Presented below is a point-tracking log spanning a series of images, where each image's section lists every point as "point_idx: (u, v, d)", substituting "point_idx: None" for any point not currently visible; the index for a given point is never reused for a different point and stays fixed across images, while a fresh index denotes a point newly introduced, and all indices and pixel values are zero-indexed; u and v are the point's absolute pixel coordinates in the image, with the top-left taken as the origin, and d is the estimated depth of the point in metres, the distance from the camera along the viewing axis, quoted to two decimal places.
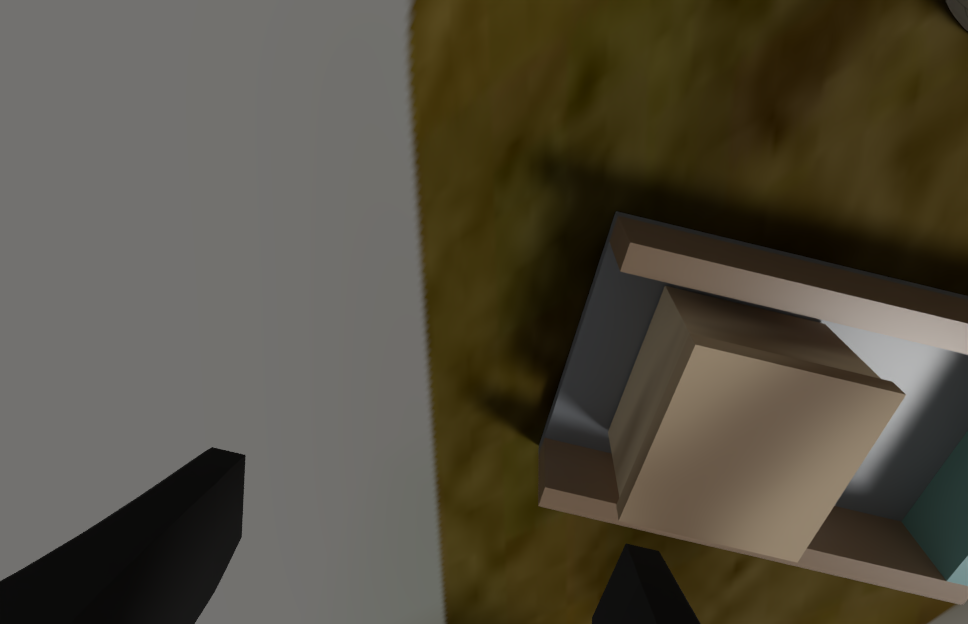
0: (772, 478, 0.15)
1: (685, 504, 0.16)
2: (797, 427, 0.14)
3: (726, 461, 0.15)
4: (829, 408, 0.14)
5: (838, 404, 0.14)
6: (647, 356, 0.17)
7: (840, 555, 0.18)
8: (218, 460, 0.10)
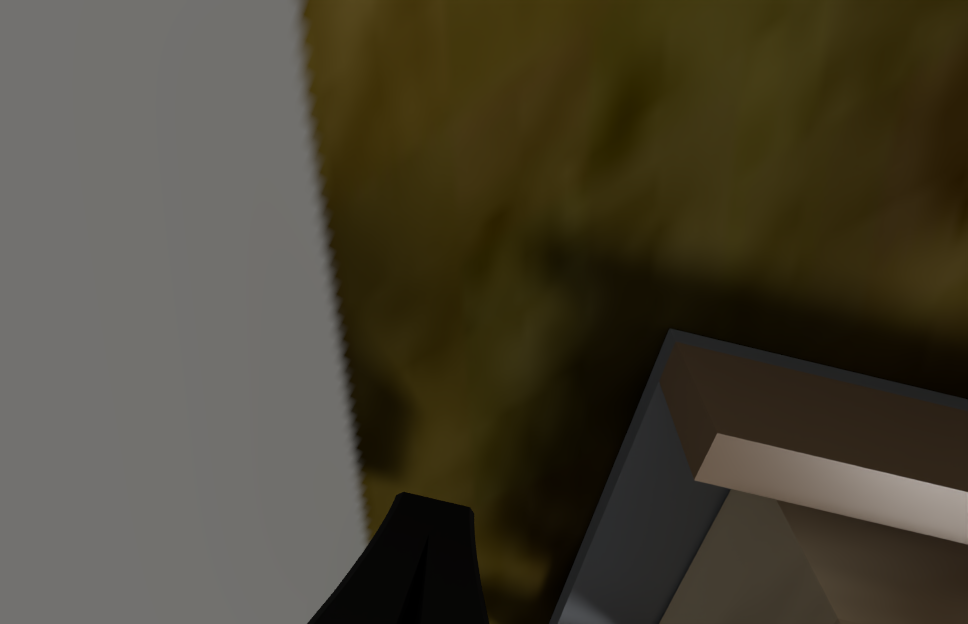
0: None
1: None
2: None
3: None
4: None
5: None
6: (722, 570, 0.10)
7: None
8: (417, 507, 0.10)
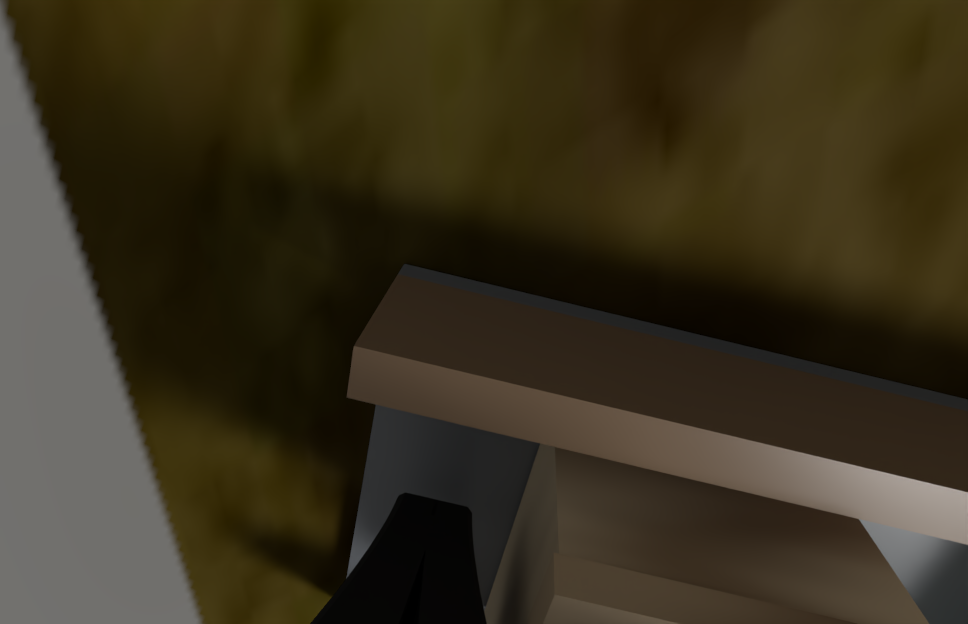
0: None
1: None
2: None
3: None
4: None
5: None
6: (524, 524, 0.10)
7: None
8: (420, 507, 0.10)
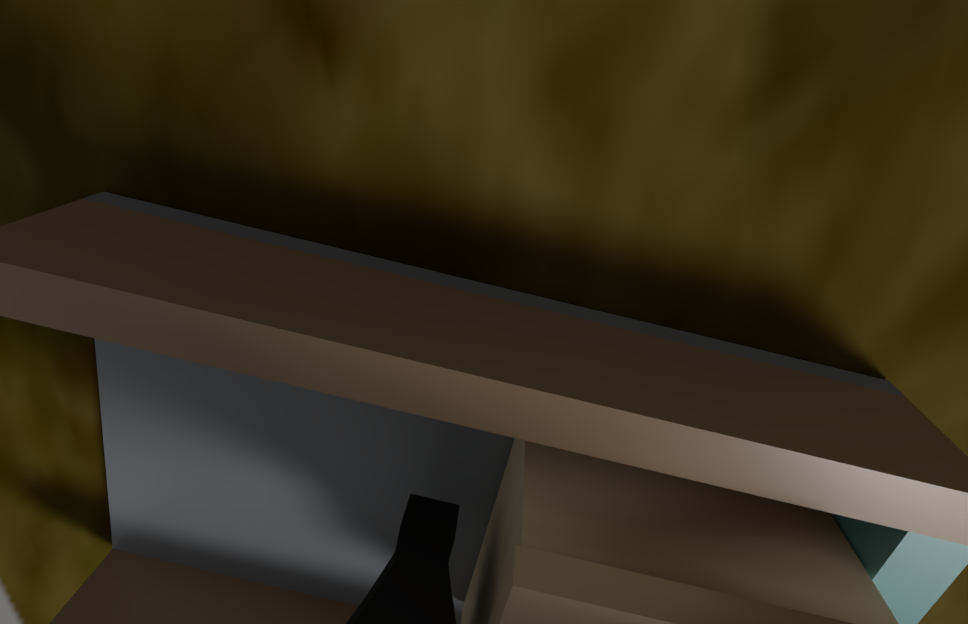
0: None
1: None
2: None
3: None
4: None
5: None
6: (497, 518, 0.10)
7: None
8: (441, 512, 0.10)
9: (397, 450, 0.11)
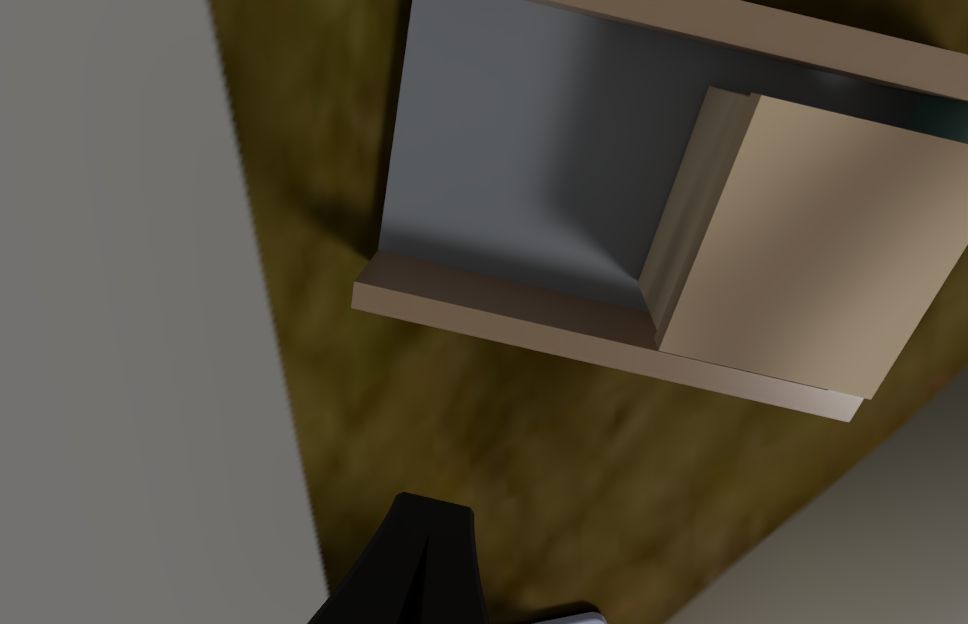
0: (847, 284, 0.12)
1: (739, 324, 0.13)
2: (881, 210, 0.12)
3: (792, 262, 0.12)
4: (924, 181, 0.11)
5: (935, 174, 0.11)
6: (688, 170, 0.15)
7: (703, 361, 0.15)
8: (418, 506, 0.10)
9: (611, 141, 0.16)
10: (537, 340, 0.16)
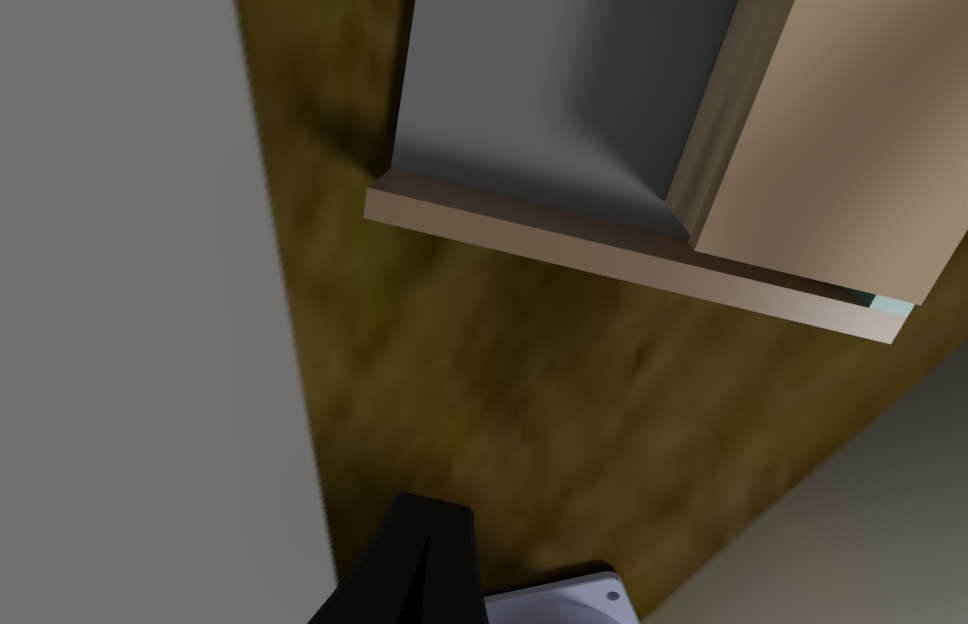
0: (900, 170, 0.12)
1: (782, 219, 0.12)
2: (941, 83, 0.11)
3: (841, 145, 0.12)
4: None
5: None
6: (723, 68, 0.14)
7: (736, 275, 0.15)
8: (417, 507, 0.10)
9: (640, 44, 0.15)
10: (561, 253, 0.15)
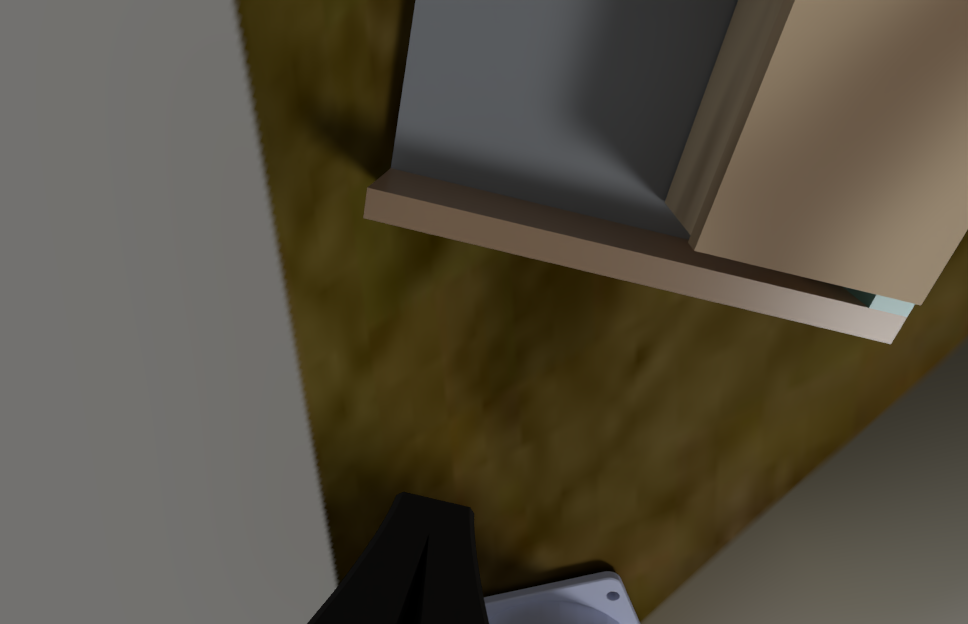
0: (900, 170, 0.12)
1: (782, 219, 0.12)
2: (941, 83, 0.11)
3: (841, 145, 0.12)
4: None
5: None
6: (723, 68, 0.14)
7: (736, 275, 0.15)
8: (417, 507, 0.10)
9: (640, 44, 0.15)
10: (561, 253, 0.15)
